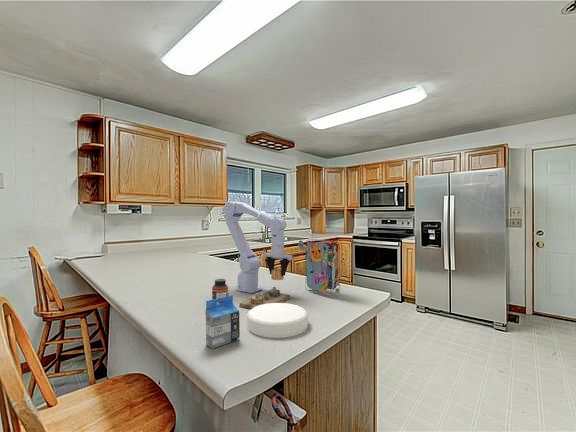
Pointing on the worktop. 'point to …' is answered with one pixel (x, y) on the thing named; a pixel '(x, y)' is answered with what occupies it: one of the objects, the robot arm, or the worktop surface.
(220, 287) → the supplement bottle
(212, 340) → the label tape box
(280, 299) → the gear board
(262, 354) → the worktop surface
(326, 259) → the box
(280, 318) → the container
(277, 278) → the idler gear
